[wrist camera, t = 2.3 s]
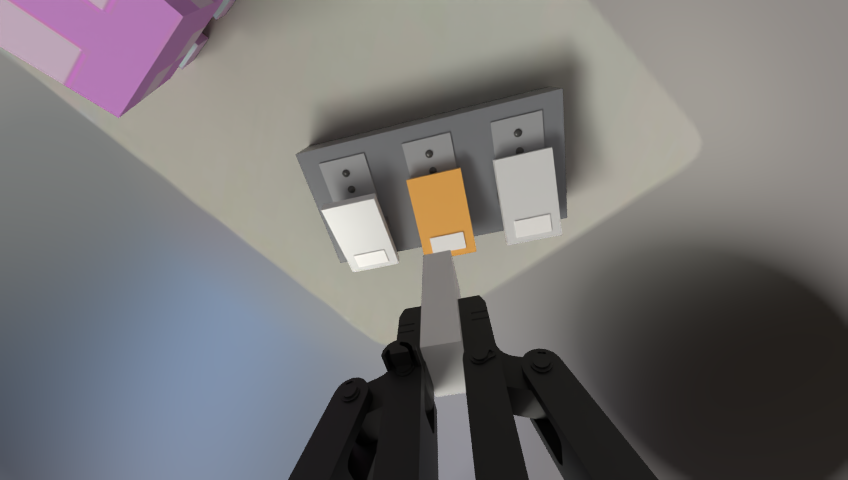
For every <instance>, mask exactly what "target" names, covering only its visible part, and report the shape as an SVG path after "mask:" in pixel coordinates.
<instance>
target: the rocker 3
mask: <svg viewBox="0 0 848 480" xmlns="http://www.w3.org/2000/svg"><path fill="white" fill-rule="evenodd" d="M493 166H494V172H495V178H496V184H497V190H498V196H499V202H500V208H501V214H502V220H503V226H504V232H505V239H506V243H507V244H508V245H513V244H518V243H523V242H528V241H533V240H538V239H543V238H549V237H554V236H559V235H562V229H561V220H560V211H559V202H558V193H557V185H556V176H555V167H554V158H553V150H552V147H547V148H543V149H538V150H534V151H530V152H525V153H521V154H516V155H512V156H508V157H503V158H499V159H494V160H493Z"/></svg>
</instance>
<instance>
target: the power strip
mask: <svg viewBox="0 0 848 480" xmlns="http://www.w3.org/2000/svg"><path fill="white" fill-rule="evenodd" d="M547 147H552V150H553V158H554V167H555V176H556V185H557V193H558V202H559V211H560V219H563V218H567V198H566V170H565V141H564V113H563V88H555V87H546V88H542V89H538V90H534V91H530V92H526V93H522V94H518V95H514V96H510V97H506V98H502V99H498V100H494V101H490V102H486V103H482V104H478V105H474V106H470V107H466V108H462V109H458V110H454V111H450V112H446V113H442V114H438V115H434V116H429V117H425V118H421V119H417V120H413V121H409V122H405V123H401V124H397V125H393V126H389V127H385V128H381V129H377V130H373V131H369V132H365V133H361V134H357V135H353V136H349V137H345V138H341V139H337V140H333V141H329V142H325V143H321V144H317V145H313V146H309V147H307V148H305V149H304V150H302V151H300V152H299V153H297V154H296V157H297V159H298V162H299V164H300V166H301V169H302V171H303V174H304V176H305V178H306V181H307V183H308V186H309V188H310V190H311V193H312V195H313V198H314V200H315V203H316V205H317V207H318V210H319V212H320V215H321V217H322V219H323V222H324V224H325V227H326V229H327V231H328V234H329V236H330V239H331V241H332V244H333V246H334V248H335V251H336V253H337V256H338V258H339V260H340V263H343V262H348V261H347V259H346V257H345V256H344V254H343V252H342V250H341V248H340V246H339V244H338V242H337V240H336V238H335V236H334V234H333V232H332V230H331V229H330V227H329V225H328V223H327V221H326V219H325V217H324V215H323V213H322V211H321V210H322V207H323V205H324V204H328V203H333V202H337V201H342V200H346V199H350V198H355V197H359V196H364V195H368V194H373V193H375V194H376V197H377V200H378V202H379V205H380V208H381V210H382V213H383V216H384V218H385V221H386V224H387V226H388V229H389V231H390V234H391V237H392V239H393V242H394V245H395V247H396V250H397V252H398V251H403V250H408V249H413V248H418V247H422V244H421V240H420V236H419V231H418V227H417V223H416V219H415V215H414V211H413V206H412V202H411V198H410V194H409V190H408V186H407V182H406V180H407V179H411V178H415V177H420V176H424V175H428V174H433V173H437V172H442V171H446V170H450V169H455V168H459V167H460V168H461V173H462V178H463V184H464V189H465V194H466V199H467V204H468V210H469V215H470V220H471V225H472V230H473V236H478V235H483V234H488V233H493V232H498V231H503V230H504V226H503V220H502V214H501V208H500V202H499V196H498V190H497V184H496V178H495V172H494V166H493V160H494V159H499V158H503V157H508V156H512V155H516V154H521V153H525V152H530V151H534V150H538V149H543V148H547Z"/></svg>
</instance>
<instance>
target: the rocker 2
mask: <svg viewBox="0 0 848 480" xmlns="http://www.w3.org/2000/svg"><path fill="white" fill-rule="evenodd" d="M406 182H407V186H408V190H409V194H410V198H411V202H412V206H413V211H414V215H415V219H416V223H417V227H418V231H419V236H420V240H421V244H422V248H423V252H424V255H427V254H432V253H437V252H442V251H447V250H451V254H452V256H456V255H461V254H466V253H471V252H476V246H475V241H474V236H473V230H472V225H471V220H470V215H469V210H468V204H467V199H466V194H465V189H464V184H463V178H462V173H461V168H460V167H459V168H455V169H450V170H446V171H442V172H437V173H433V174H428V175H424V176H420V177H415V178H411V179H407V180H406Z"/></svg>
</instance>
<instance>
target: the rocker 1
mask: <svg viewBox="0 0 848 480" xmlns="http://www.w3.org/2000/svg"><path fill="white" fill-rule="evenodd" d="M321 211H322V213H323V215H324V217H325V219H326V221H327V223H328V225H329V227H330V229H331V230H332V232H333V234H334V236H335V238H336V240H337V242H338V244H339V246H340V248H341V250H342V252H343V254H344V256H345V257H346V259H347V261H348V263H349V265H350V267H351V269H352V271H353V272H358V271H363V270H368V269H373V268H378V267H383V266H388V265H393V264H399V255H398V253H397V250H396V247H395V245H394V242H393V239H392V237H391V234H390V231H389V229H388V226H387V224H386V221H385V218H384V216H383V213H382V210H381V208H380V205H379V202H378V200H377V197H376V194H375V193H373V194H368V195H364V196H359V197H355V198H350V199H346V200H342V201H337V202H333V203H328V204H324V205H323V207H322V210H321Z"/></svg>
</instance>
